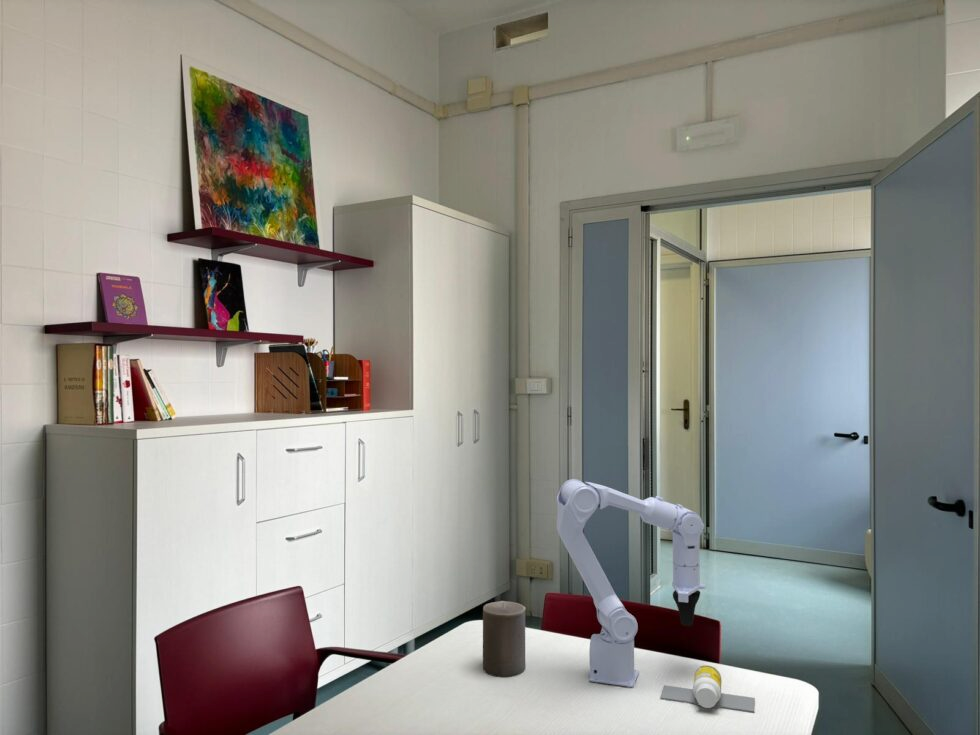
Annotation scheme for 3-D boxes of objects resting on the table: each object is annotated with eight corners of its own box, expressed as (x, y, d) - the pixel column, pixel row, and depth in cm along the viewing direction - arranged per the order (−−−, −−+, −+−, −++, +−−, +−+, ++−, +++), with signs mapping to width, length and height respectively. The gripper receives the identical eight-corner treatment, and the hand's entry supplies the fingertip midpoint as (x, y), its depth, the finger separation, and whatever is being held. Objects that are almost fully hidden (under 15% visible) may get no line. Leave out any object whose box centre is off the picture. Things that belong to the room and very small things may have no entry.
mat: (660, 698, 147) (660, 697, 147) (663, 686, 152) (663, 685, 152) (754, 712, 141) (754, 711, 141) (754, 699, 146) (754, 697, 146)
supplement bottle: (724, 689, 149) (723, 711, 140) (697, 690, 151) (694, 712, 141) (718, 663, 149) (717, 683, 140) (692, 664, 151) (689, 685, 142)
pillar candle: (488, 679, 157) (488, 610, 157) (478, 661, 167) (478, 596, 167) (531, 675, 159) (530, 607, 159) (519, 657, 169) (519, 593, 169)
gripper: (702, 574, 151) (703, 638, 151) (707, 556, 165) (708, 615, 165) (667, 571, 154) (668, 634, 154) (675, 554, 167) (676, 612, 167)
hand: (687, 624), depth 159 cm, fingers closed
